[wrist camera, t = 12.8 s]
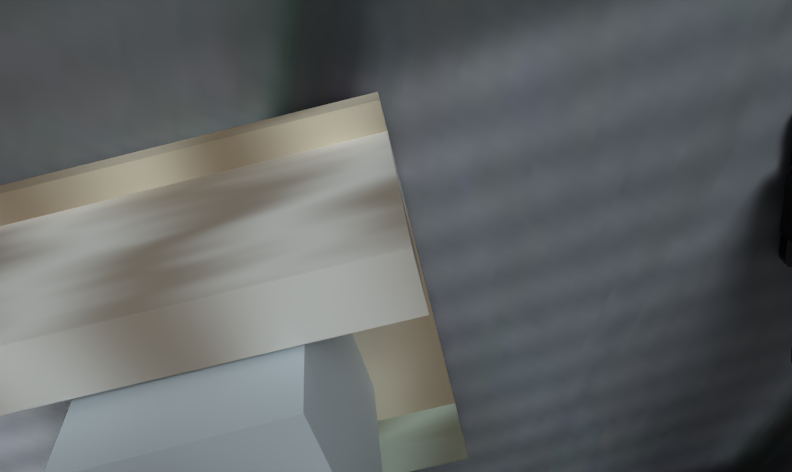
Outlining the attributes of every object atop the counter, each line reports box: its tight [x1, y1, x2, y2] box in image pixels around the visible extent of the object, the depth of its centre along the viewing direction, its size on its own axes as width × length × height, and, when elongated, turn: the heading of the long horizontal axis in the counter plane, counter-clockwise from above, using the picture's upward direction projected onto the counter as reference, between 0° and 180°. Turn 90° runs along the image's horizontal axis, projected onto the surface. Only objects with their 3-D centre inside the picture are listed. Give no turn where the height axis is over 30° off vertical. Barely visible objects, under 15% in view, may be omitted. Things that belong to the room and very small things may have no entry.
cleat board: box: [0, 92, 468, 472], centre depth 22 cm, size 12×16×7 cm
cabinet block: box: [44, 333, 382, 472], centre depth 20 cm, size 6×9×8 cm, turn 14°
